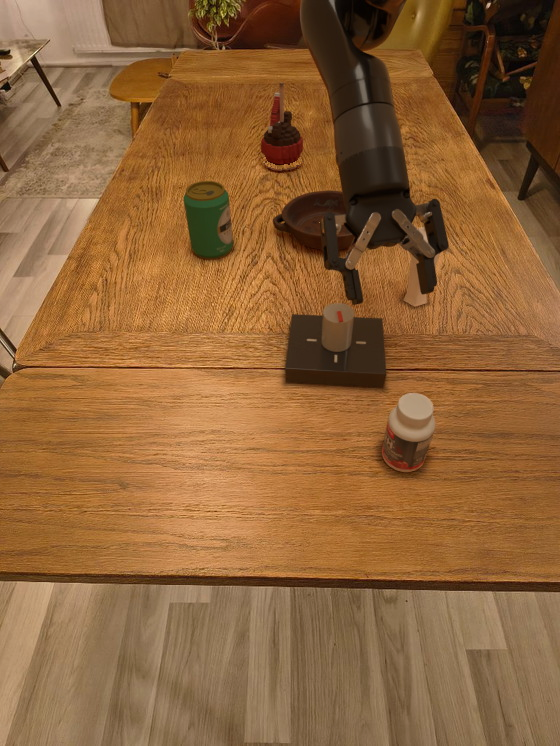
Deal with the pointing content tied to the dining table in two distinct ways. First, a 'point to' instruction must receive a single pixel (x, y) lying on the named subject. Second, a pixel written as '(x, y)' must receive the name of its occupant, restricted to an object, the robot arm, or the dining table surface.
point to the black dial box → (336, 354)
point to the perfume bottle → (416, 279)
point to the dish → (312, 218)
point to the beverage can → (208, 219)
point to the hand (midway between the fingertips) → (393, 298)
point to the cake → (281, 136)
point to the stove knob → (337, 327)
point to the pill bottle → (409, 433)
